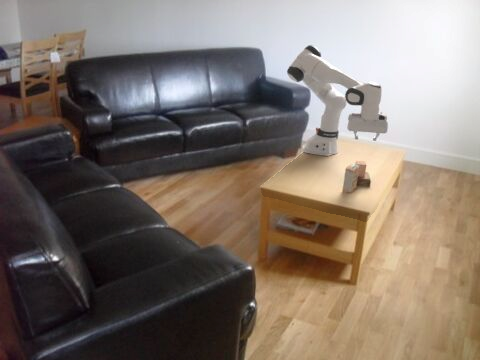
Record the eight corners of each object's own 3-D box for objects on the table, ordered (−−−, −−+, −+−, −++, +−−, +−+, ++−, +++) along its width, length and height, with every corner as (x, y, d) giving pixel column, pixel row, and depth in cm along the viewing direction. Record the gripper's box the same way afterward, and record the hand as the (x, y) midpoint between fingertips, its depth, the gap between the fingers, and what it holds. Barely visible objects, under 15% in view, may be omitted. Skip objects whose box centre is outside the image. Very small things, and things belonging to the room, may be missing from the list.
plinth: (349, 184, 261) (350, 177, 260) (347, 176, 271) (348, 170, 270) (369, 186, 260) (371, 179, 259) (367, 178, 270) (368, 171, 269)
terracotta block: (355, 176, 262) (356, 164, 259) (354, 172, 267) (355, 160, 264) (364, 177, 262) (366, 164, 259) (363, 173, 266) (365, 161, 264)
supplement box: (350, 193, 251) (354, 170, 246) (342, 191, 253) (345, 168, 248) (356, 188, 258) (359, 165, 252) (347, 186, 260) (351, 163, 255)
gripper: (349, 114, 248) (346, 140, 254) (390, 117, 247) (385, 143, 253) (348, 111, 254) (344, 136, 260) (388, 114, 253) (383, 139, 258)
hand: (365, 139), depth 256 cm, fingers open, 8 cm apart
